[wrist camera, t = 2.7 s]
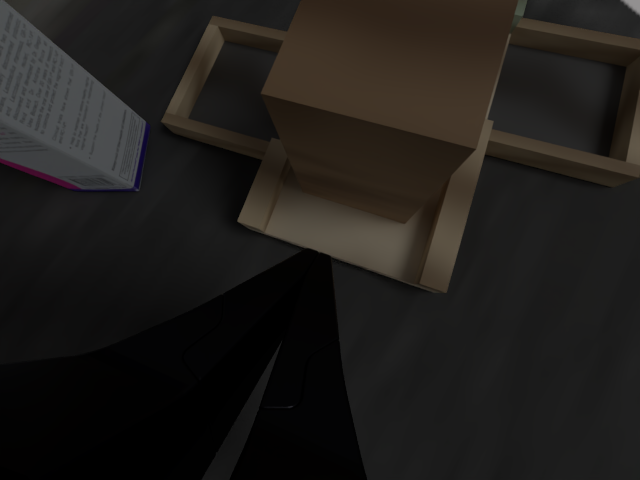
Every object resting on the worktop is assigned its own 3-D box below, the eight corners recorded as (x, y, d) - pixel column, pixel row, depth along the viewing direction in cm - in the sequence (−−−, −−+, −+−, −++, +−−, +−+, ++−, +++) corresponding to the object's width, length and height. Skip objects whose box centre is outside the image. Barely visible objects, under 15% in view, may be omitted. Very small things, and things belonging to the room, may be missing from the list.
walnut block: (404, 223, 16) (476, 149, 8) (302, 192, 17) (260, 93, 9) (434, 128, 17) (528, -37, 9) (336, 103, 18) (329, -67, 10)
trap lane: (582, 343, 15) (666, 363, 11) (145, 193, 20) (96, 169, 16) (643, 26, 18) (724, -45, 15) (257, -42, 23) (240, -110, 19)
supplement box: (152, 123, 21) (-73, -72, 10) (140, 192, 20) (-130, 66, 8) (87, 124, 21) (-199, -58, 10) (72, 192, 20) (-267, 73, 9)
